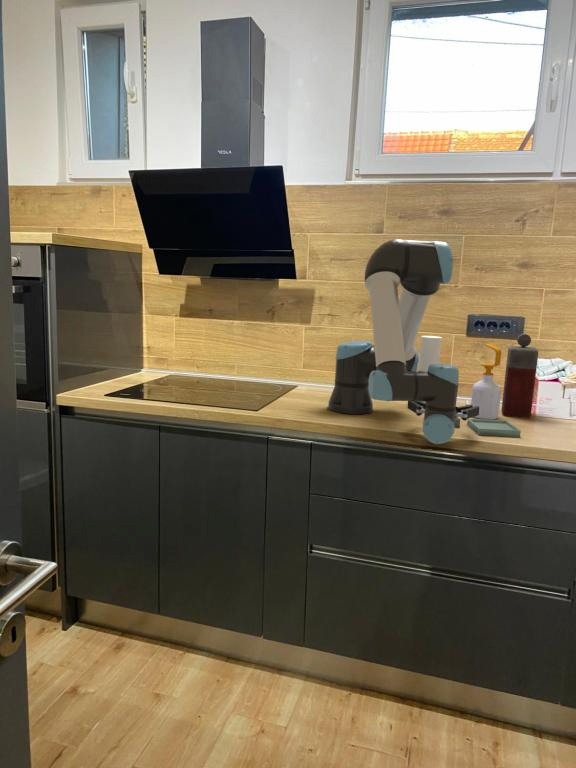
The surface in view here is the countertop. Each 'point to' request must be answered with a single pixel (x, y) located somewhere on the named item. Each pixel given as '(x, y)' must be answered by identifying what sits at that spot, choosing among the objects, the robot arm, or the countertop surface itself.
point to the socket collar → (457, 422)
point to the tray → (493, 427)
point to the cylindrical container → (429, 352)
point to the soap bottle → (487, 391)
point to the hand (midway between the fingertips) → (443, 402)
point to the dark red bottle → (520, 379)
